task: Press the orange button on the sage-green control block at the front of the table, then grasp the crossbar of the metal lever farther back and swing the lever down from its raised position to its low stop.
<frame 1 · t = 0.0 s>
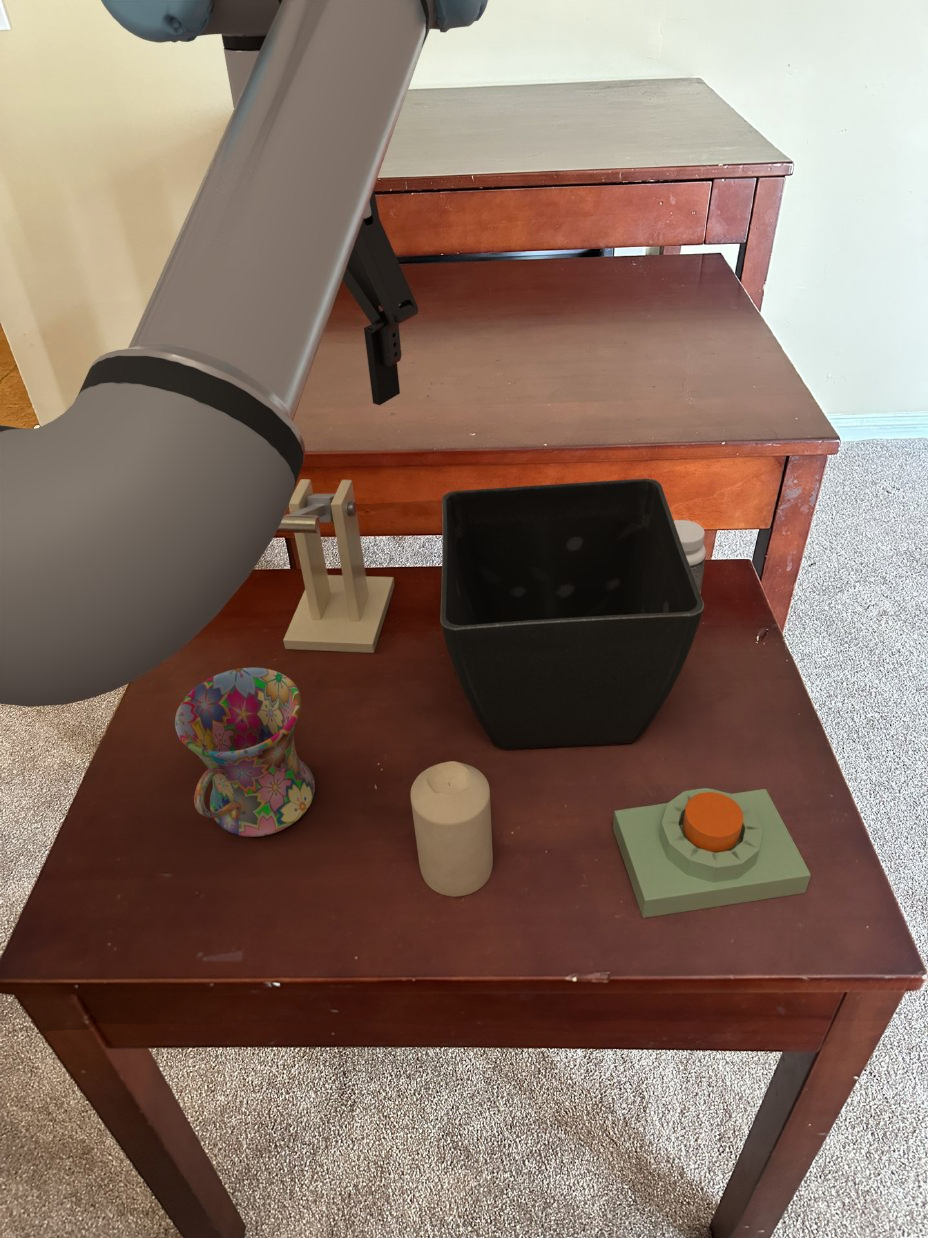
hand: (328, 382, 80), 24 cm above the table, tool pointing down, fingers open, 13 cm apart
candle: (456, 867, 68), on the table
lever: (306, 514, 79), point 15 cm above the table, hinge at 25.0°
flower pot: (557, 699, 81), on the table
button: (712, 821, 64), point 4 cm above the table, slide at 0.1 cm
mug: (258, 815, 72), on the table
control block: (705, 859, 67), on the table
bracket: (342, 616, 92), on the table
pill bottle: (675, 600, 92), on the table
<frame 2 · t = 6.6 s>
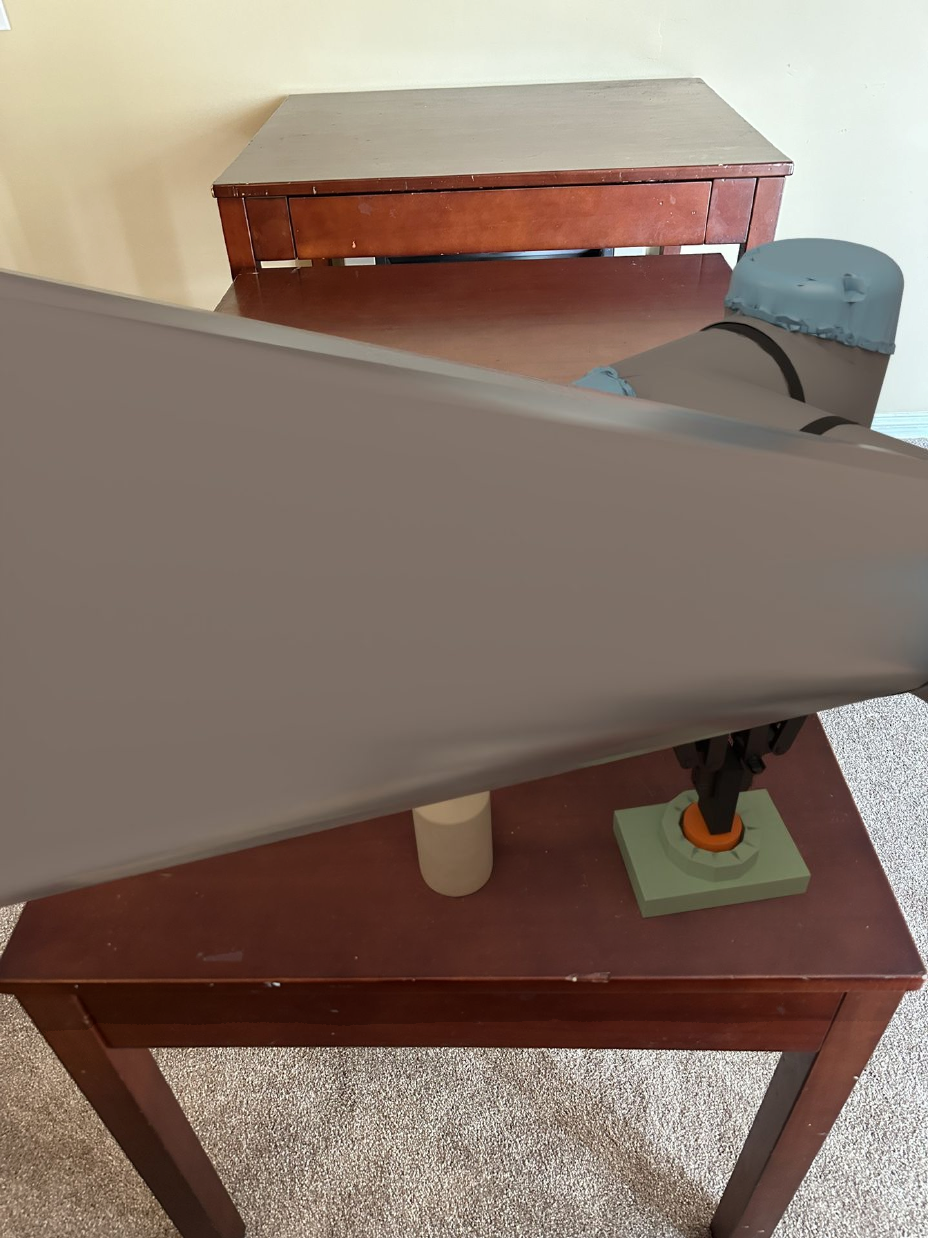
hand: (714, 818, 64), 5 cm above the table, tool pointing down, fingers closed
button: (711, 829, 64), point 4 cm above the table, slide at -0.8 cm, touching gripper
everything else where it was.
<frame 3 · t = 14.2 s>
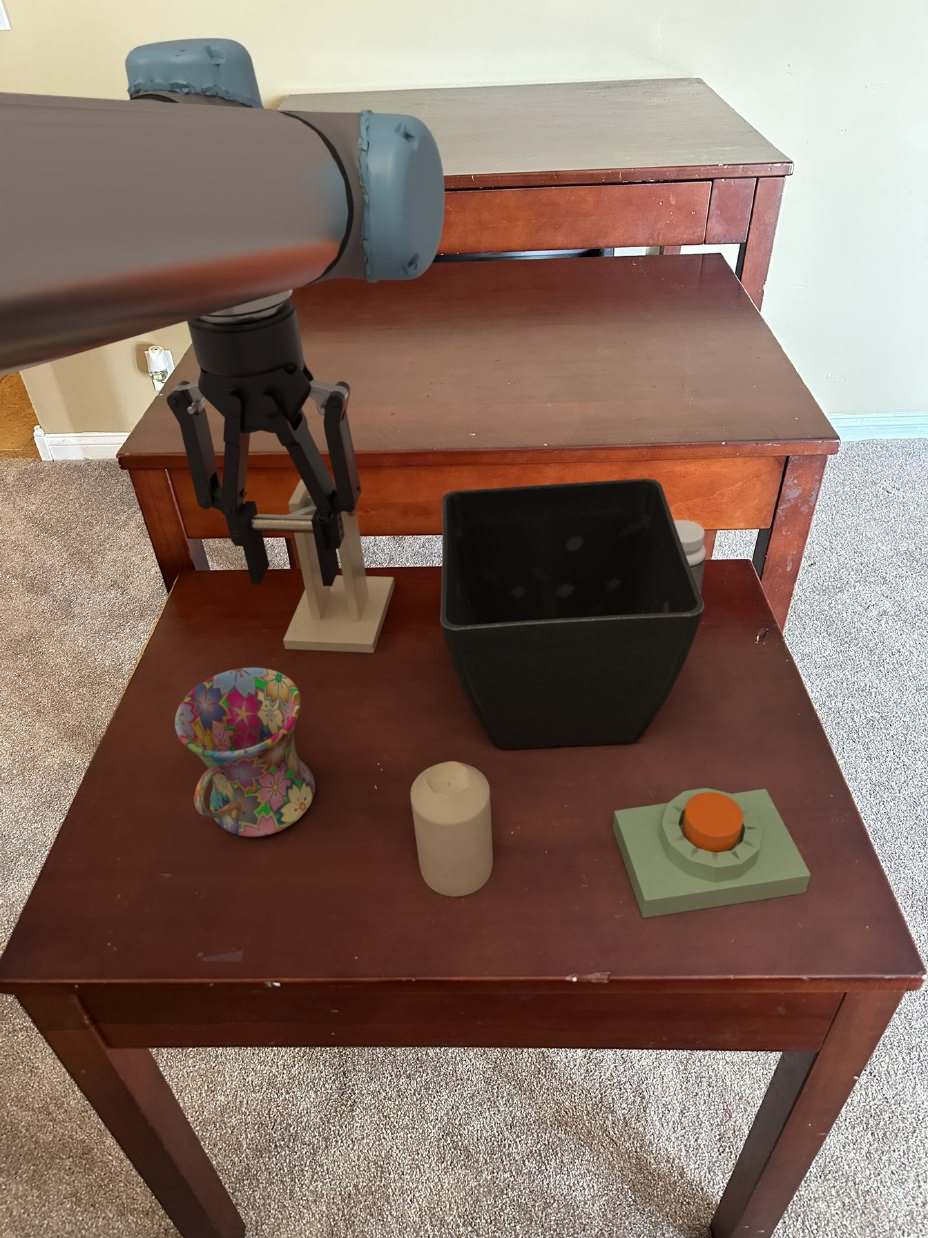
hand: (295, 575, 77), 12 cm above the table, tool pointing down, fingers closed on lever, 5 cm apart
lever: (306, 514, 79), point 15 cm above the table, hinge at 25.0°, touching gripper
button: (712, 821, 64), point 4 cm above the table, slide at 0.1 cm
everything else where it was.
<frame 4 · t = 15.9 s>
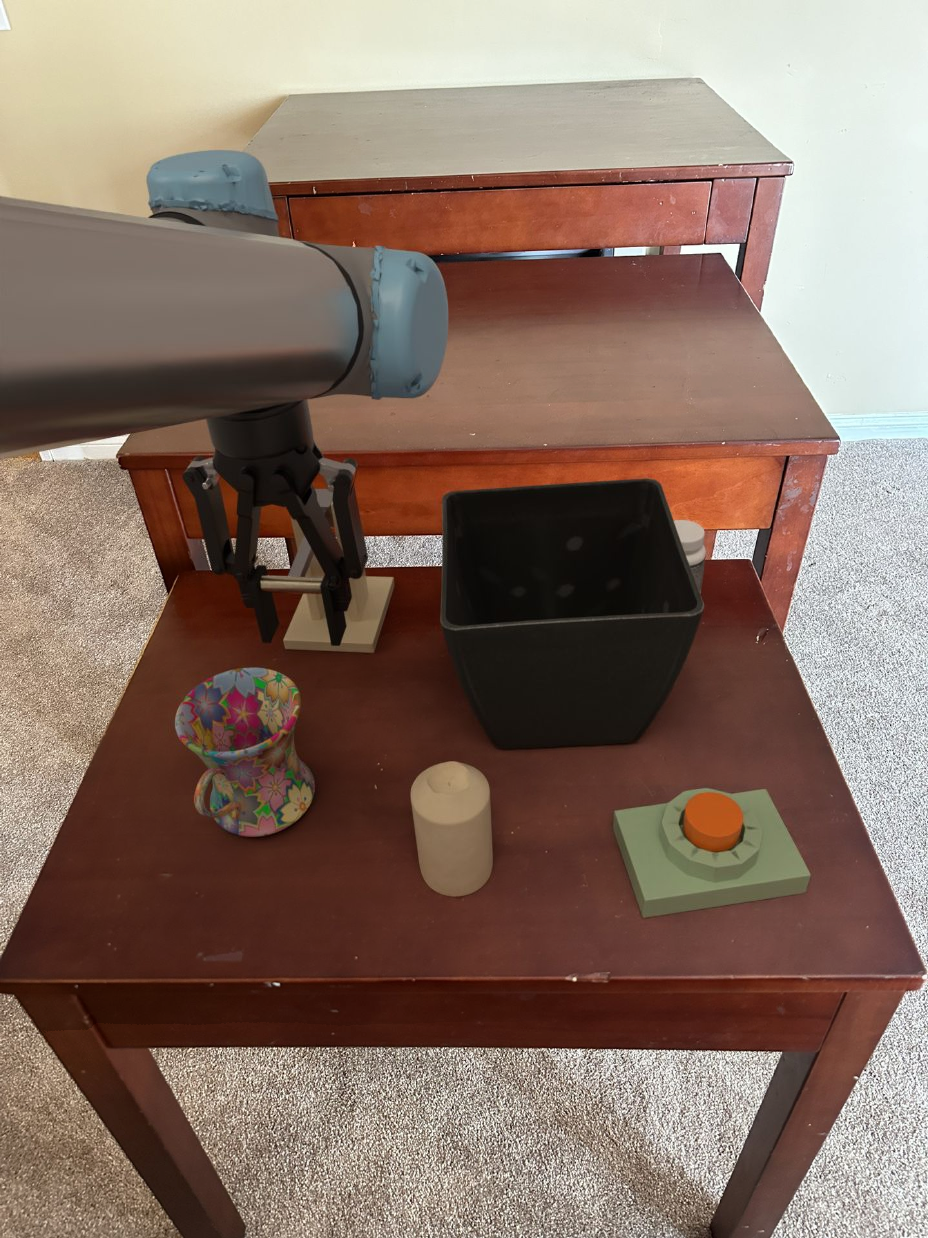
hand: (304, 634, 80), 7 cm above the table, tool pointing down, fingers closed on lever, 5 cm apart
lever: (309, 542, 80), point 13 cm above the table, hinge at -4.4°, touching gripper
everything else where it was.
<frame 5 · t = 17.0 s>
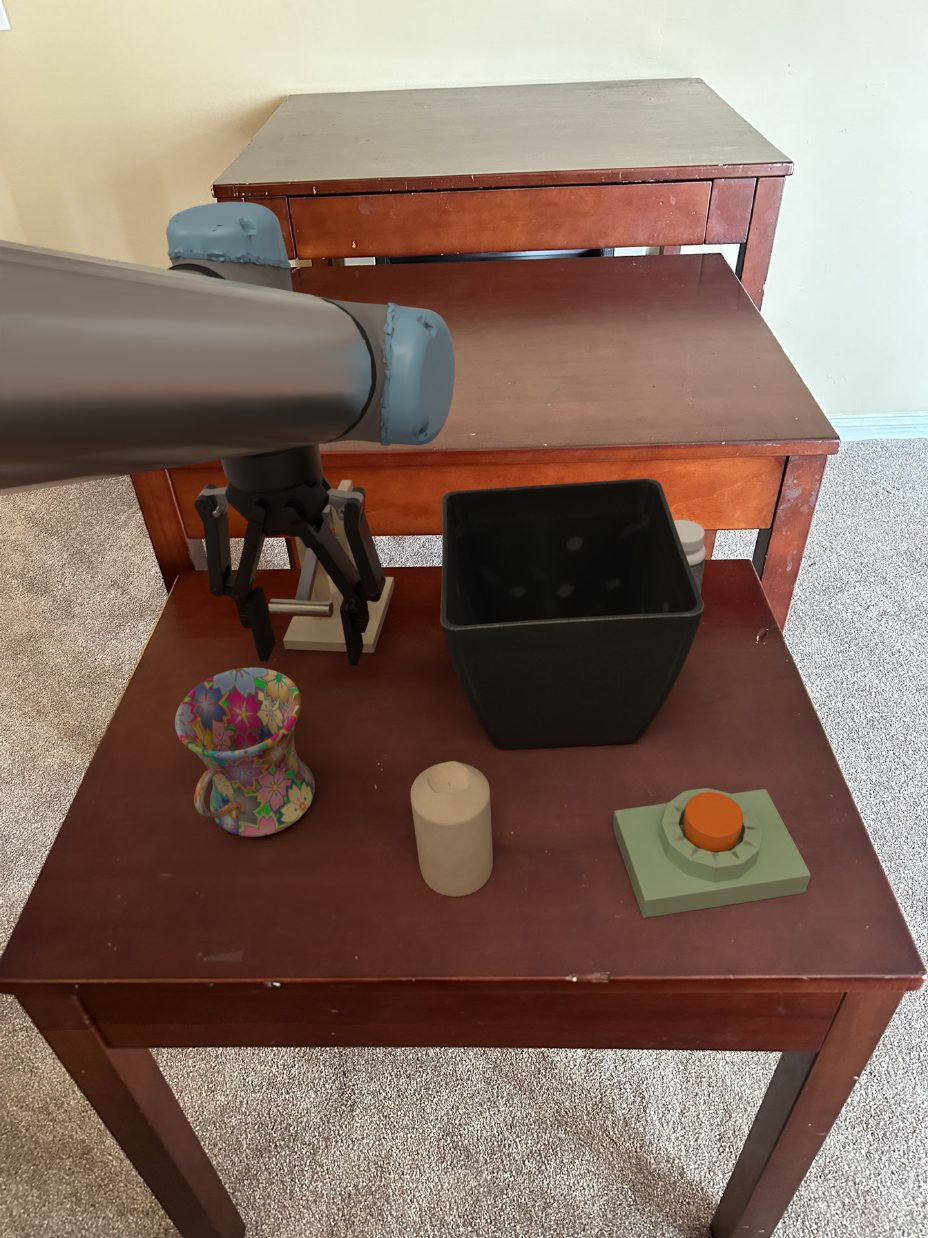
hand: (312, 653, 82), 4 cm above the table, tool pointing down, fingers open, 8 cm apart
lever: (313, 553, 81), point 11 cm above the table, hinge at -20.6°
everything else where it was.
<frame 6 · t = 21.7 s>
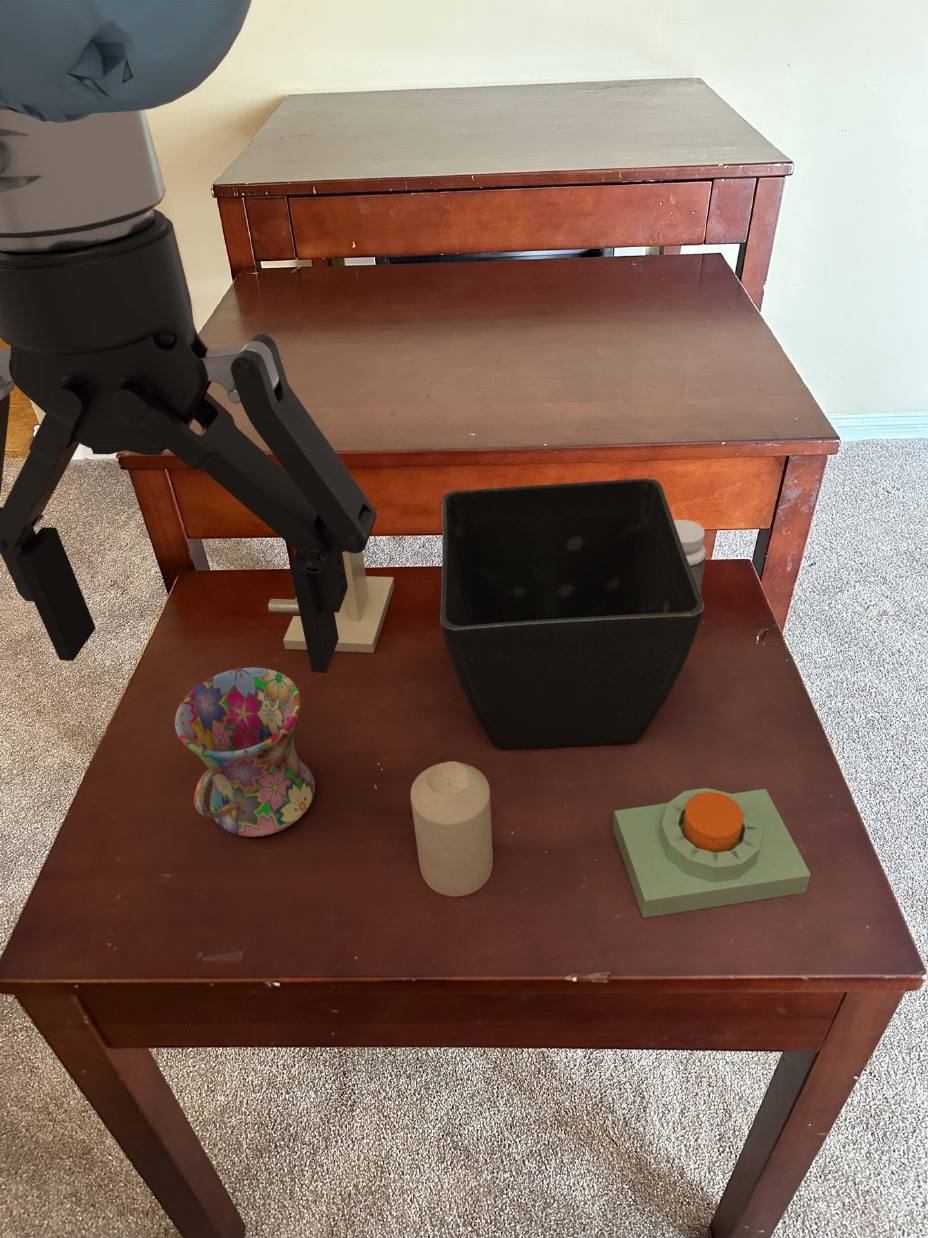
hand: (199, 650, 47), 27 cm above the table, tool pointing down, fingers open, 13 cm apart
nothing on the table moved.
at the end: button pushed in 1.0 cm at the most during the clip, back to where it started at the end; button slide at 0.1 cm; lever at -21° (first picture: +25°) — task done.
